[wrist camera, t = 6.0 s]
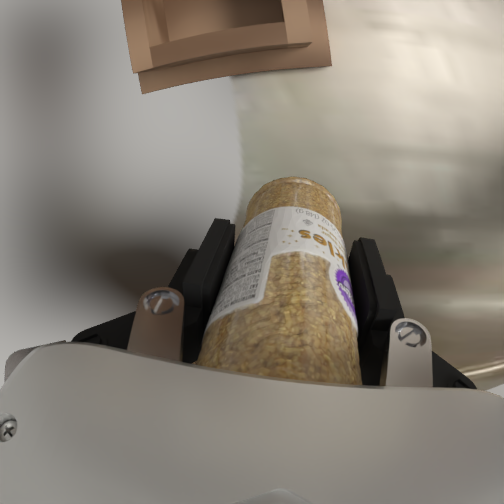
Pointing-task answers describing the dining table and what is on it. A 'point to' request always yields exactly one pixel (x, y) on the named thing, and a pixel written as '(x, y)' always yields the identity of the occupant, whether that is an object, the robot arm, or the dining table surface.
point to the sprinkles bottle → (287, 291)
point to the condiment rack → (222, 38)
